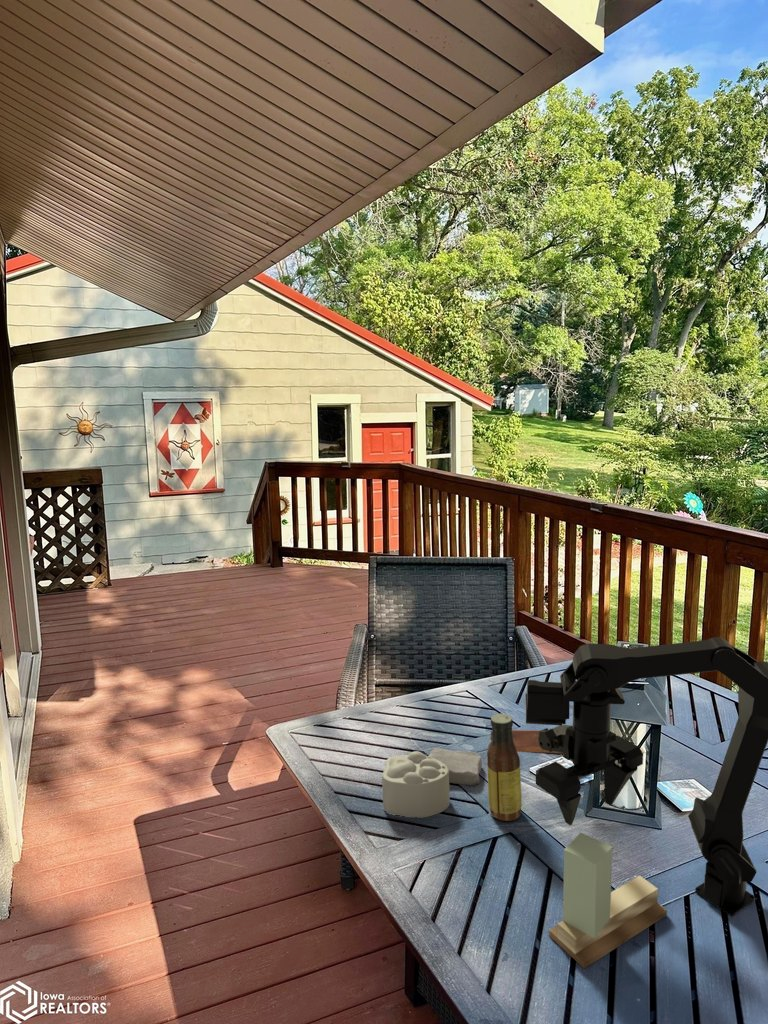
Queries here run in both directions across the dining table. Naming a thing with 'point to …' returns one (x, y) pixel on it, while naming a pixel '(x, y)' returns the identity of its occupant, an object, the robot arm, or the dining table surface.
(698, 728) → the dining table surface
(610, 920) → the birch ridge
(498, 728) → the sauce bottle
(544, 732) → the robot arm
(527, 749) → the wooden tablet
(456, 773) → the stone block
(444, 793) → the lumpy-topped squat cylinder
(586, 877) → the sage post
